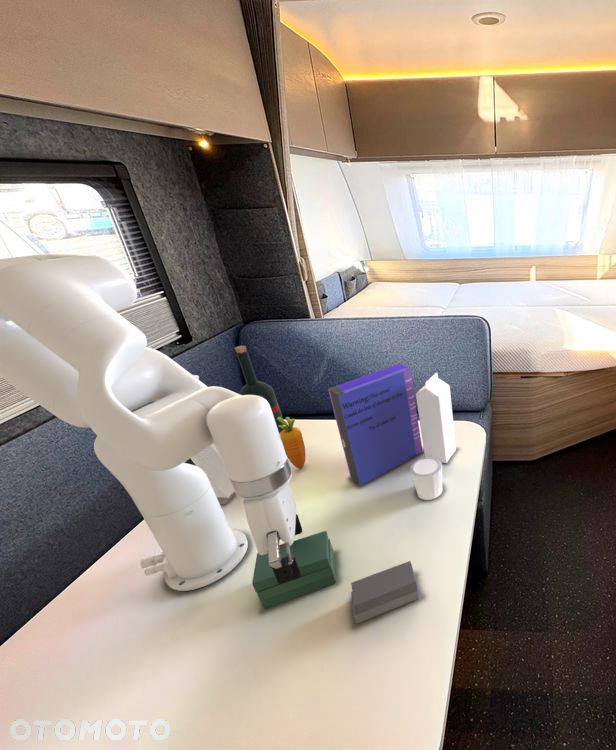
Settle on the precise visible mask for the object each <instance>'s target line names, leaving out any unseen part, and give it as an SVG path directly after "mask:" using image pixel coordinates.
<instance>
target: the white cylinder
mask: <svg viewBox="0 0 616 750" xmlns="http://www.w3.org/2000/svg"><path fill="white" fill-rule="evenodd" d="M409 470H410V473H411V474H410V475H411V477H412V481H413V483H414V487H415V490H416V494H417V496H418V498H420V499H421V500H424V501H430V500H431V501H432V500H435V499H436V498H438V497H439V496H441V494H442V493H443V463H442V462H441V461H440V460H439V459H437V458H434V457H425V456H424V457H421V458H419V459H416V460H415V461H414V462H413V463H412V464H411V466H410V468H409Z"/></svg>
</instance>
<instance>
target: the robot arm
mask: <svg viewBox="0 0 616 750" xmlns="http://www.w3.org/2000/svg"><path fill="white" fill-rule="evenodd" d="M137 298H138V289H137V285H136V283H135V280H134V279H133V278H132V276H131V275H130V274H129V273H128V272H127V271H126V270H125V269H124V268H123V267H121V266H120V265H119V264H118V263H116V262H115V261H112V260H110V259H109V258H107V257H106V258H105V257H104V256H100V255H96V254H60V253H45V254H33V255H32V254H31V255H25V256H16V257H6V258H0V378H1V379H3V380H4V381H6V382H7V383H8V384H10V385H11V386H13V387H14V388H15V389H16V390H17V391H19V392H21V393H22V394H23V395H25V396H27V397H28V398H29V399H30V400H32V401H34V402H35V403H37V404H38V405H39V406H41V407H42V408H43V409H45V410H47V411H48V412H49V413H50V414H52V415H53V416H55V417H57V418H58V419H59V420H62V421H63V422H64V423H66V424H69V425H70V426H74V427H77V428H82V429H83V428H87V429H88V428H89V429H91V430H92V432H93V433H94V434H95V435H97V436H96V437H95V438H94V439H95V440H94V443H93V452H94V454H95V455H96V457H97V459H98V460H99V462H100V463H101V464H102V465H103V466H104V467H105V468H106V470H108V471H109V472H110V473H111V474H112V475H113V476H114V477H115V479H117V481H118V482H120V484H121V485H122V486H123V487H124V489H125V491H126V492H127V493H128V495H129V496H130V498H131V499H132V502H134V504H135V506H136V508H137V510H138V511H139V513H140V514H141V516H142V517H143V519H144V521H145V523H146V524H147V526H148V529H149V530H150V532H151V534H152V535H153V537H154V539H155V540H156V542H157V544H158V546H159V547H160V549H161V550H162V552H158V553H153V554H150V555H146V556H143V557H142V558H141V559H140V566H141V568H142V569H144V574H145V576H146V577H147V576H151V575H154V574H157V573H160V572H163V573H164V575H163V576H164V581H165V583H166V585H167V586H168V587H169V588H170V589H172V590H174V591H179V592H187V591H194V590H199V589H201V588H204V587H206V586H209V585H211V584H213V583H215V582H217V581H218V580H220V579H222V578H223V577H224V576H226V575H228V574H229V573H230V572H231V571H232V570H234V569H235V568H236V567H237V566H238V565H239V563H240V562H241V561H242V559H243V558H244V557H245V555H246V553H247V551H248V548H249V541H248V539H247V536H246V535H245V534H244V533H243V532H242V531H240V530H238V529H232V528H231V526H230V524H229V521H228V520H227V517H226V515H225V513H224V510H223V508H222V505H220V504H219V502H218V499H217V497H216V495H215V493H214V491H213V488H212V486H211V484H210V482H209V480H208V477H207V476H206V474H205V472H204V471H203V470H202V469H200V468H199V467H197V466H196V465H195V464H190V463H187V461H188V460H191V457H193V456H194V455H196V454H197V453H199V452H200V451H202V450H204V449H205V448H207V447H208V446H210V445H211V444H213V443H215V445H216V447H217V450H218V452H219V455H220V457H221V460H222V462H223V464H224V467H225V469H226V471H227V474H228V476H229V479H230V481H231V483H232V486H233V488H234V491H235V495H236V497H237V498H238V499H239V500H243V501H242V502H243V507H244V513H245V516H246V520H247V524H248V527H249V531H250V534H251V537H252V540H253V543H254V545H255V548H256V551H257V553H259V554H260V555H264V554H267V552H268V557H269V565H270V566H271V568H272V570H273V572H274V574H275V577H276V579H277V582H278V584H283V583H286V582H289V581H292V580H295V579H297V578H300V577H301V572H300V569H299V567H298V564H297V561H296V558H295V557H292V551H291V545H292V544H293V542H294V541H295V537H296V536H297V535H301V534H302V533H303V526H302V524H301V521H300V518H299V515H298V514H297V504H296V499H295V496H294V493H293V490H292V488H291V485H290V482H291V480H292V478H293V472H292V469H291V468H292V467H291V466H290V463H289V462H290V461H289V459H288V457H287V456H286V453H285V450H284V447H283V444H282V441H281V438H280V435H279V432H278V428H277V425H276V422H275V419H274V416H273V413H272V410H271V407H270V405H269V403H268V402H267V400H266V399H264V398H263V397H260V396H257V395H240V394H239V393H237V392H235V391H232V390H230V389H228V388H225V387H223V386H217V385H215V386H214V385H213V386H212V385H211V386H208V385H206V384H205V383H204V382H202V381H201V380H200V379H199V380H198V379H197V378H196V377H194V376H193V375H194V374H192V373H191V372H189V371H188V370H187V369H186V368H184V367H183V366H181V365H180V364H179V363H178V362H176V361H174V359H172V358H171V357H169V356H168V355H167V354H165V353H163V352H161V351H159V350H157V349H154V348H152V347H147V346H148V339H147V337H146V335H145V333H144V332H143V331H142V330H140V329H139V328H137V326H135V325H133V323H131V322H130V321H129V320H127V319H126V318H125V317H124V316H122V315H121V314H120V313H119V312H117V311H120V310H123V309H126V308H129V307H131V306H133V305H134V303H135V302H136V301H137ZM10 321H11V322H13V323H14V324H11V323H8V322H10ZM183 462H185V463H183ZM280 541H282V542H284V543H281V544H280ZM282 548H285V549H286V555H287V557H284V558H282V557H281V555H280V549H282Z"/></svg>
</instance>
